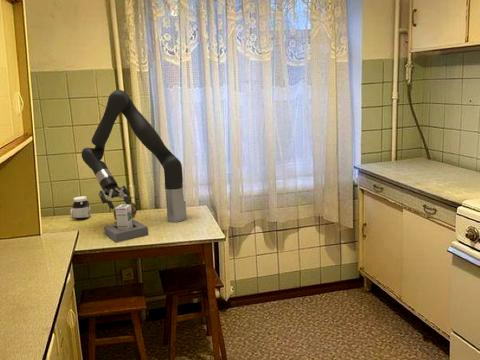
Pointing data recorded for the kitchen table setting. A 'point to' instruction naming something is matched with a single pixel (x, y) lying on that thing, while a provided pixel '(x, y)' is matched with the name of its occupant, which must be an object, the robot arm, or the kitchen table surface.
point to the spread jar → (80, 208)
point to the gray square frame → (125, 232)
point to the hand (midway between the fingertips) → (121, 206)
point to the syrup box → (124, 217)
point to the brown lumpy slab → (133, 208)
